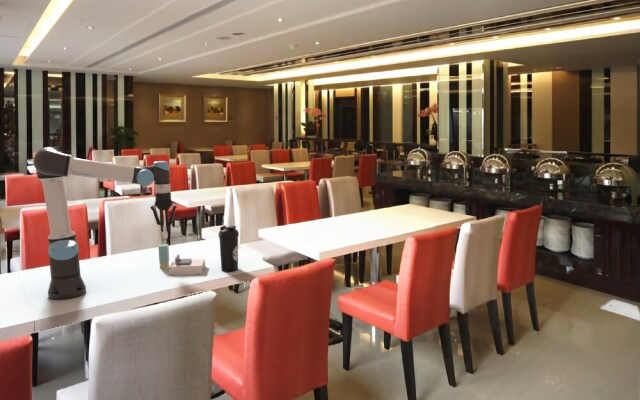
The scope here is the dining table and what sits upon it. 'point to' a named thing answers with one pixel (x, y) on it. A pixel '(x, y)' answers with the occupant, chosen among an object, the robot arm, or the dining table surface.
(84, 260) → the dining table surface
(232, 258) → the water bottle
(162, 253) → the teal block
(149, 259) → the dining table surface
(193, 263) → the socket block
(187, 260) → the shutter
